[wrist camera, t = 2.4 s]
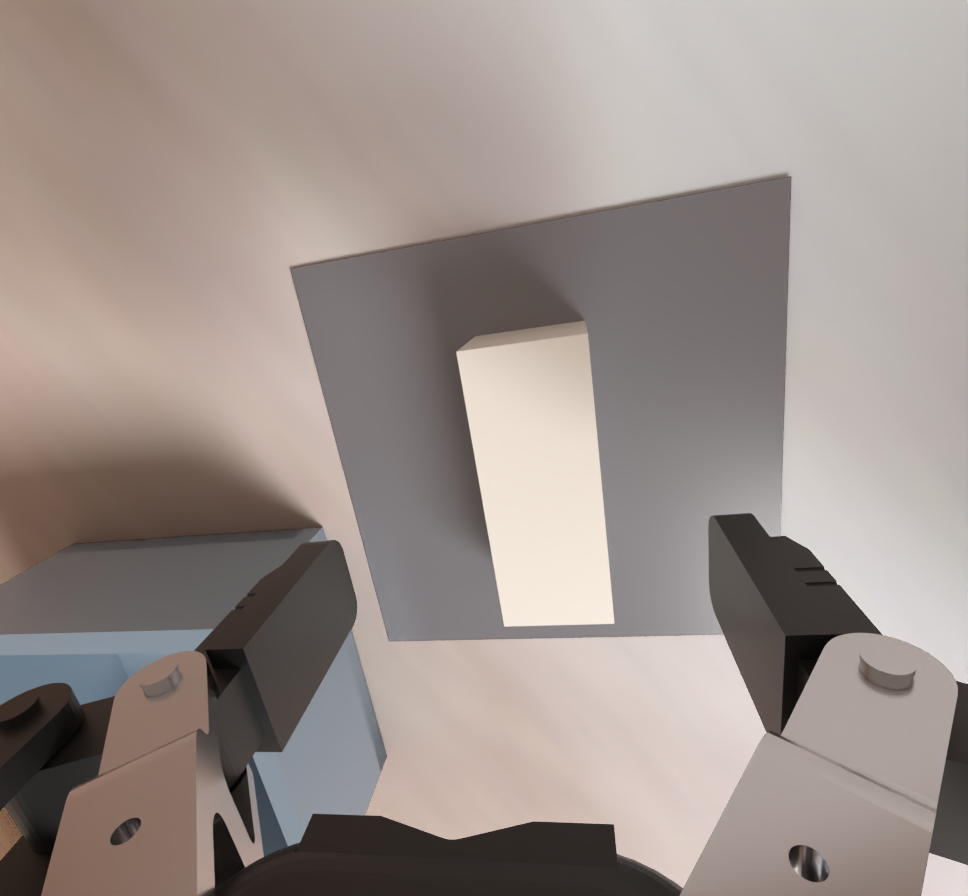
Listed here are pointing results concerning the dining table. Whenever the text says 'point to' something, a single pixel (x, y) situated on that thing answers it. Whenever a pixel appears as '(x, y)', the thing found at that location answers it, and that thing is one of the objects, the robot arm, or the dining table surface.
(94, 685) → the dish
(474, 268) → the lid
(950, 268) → the dining table surface
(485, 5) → the dining table surface
